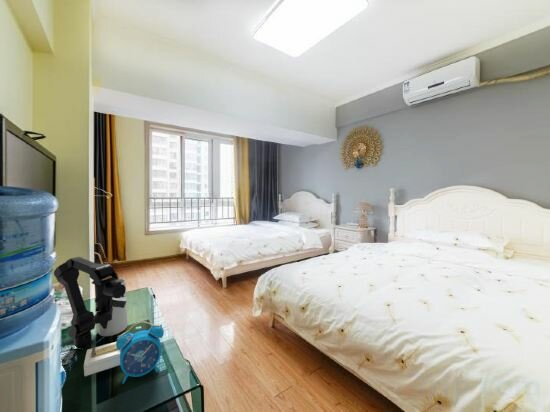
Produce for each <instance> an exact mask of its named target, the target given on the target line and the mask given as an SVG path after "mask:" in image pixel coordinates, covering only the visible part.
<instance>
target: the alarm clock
mask: <svg viewBox="0 0 550 412" xmlns="http://www.w3.org/2000/svg"><path fill="white" fill-rule="evenodd" d="M138 324H148V325H150V326H151V327H150V328H149V329H148V330H140V331H136V332H135V333H131V332H129V331H131V329H133V328H134V327H135V326H136V325H138ZM164 333H165V332H164V328H163V325H162V324H153V323H150V322H148V321H146V320H145V321H139V322H136V323H134V324H133V325H132V326H131V327H130V328H129V329H128V330H127V331H125V332H123V333H122V334H120V335H117V339H116V341H115V342H116V347H117V349H118V350H121V351H120V365H119V366H120V368H121V371H122V372H123V373H124V374H125V377H124V379H123V380H122V381H121V383H122V384H124V385H125V382H126V381H127V379H128V377H131V378H132V377H134V378H136V377H137V378H138V377H142V376H144V375H147V374H148V373H150V372H151V371H152V370H155V371H157V372H160V371H161V370H160V369H159V368H158V366H157V364H158V363H159V361H160V358H161V356H162V345H161V340H160V339H163V337H164Z"/></svg>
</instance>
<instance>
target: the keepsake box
mask: <svg viewBox="0 0 550 412" xmlns="http://www.w3.org/2000/svg"><path fill="white" fill-rule="evenodd" d="M116 342H117V341H115V342H111V343H107V344H106V343H105V344H103V345H100V346H96V347H93V348H89V349H86V353H85V358H84V363H83V374H84V377H88V376H90V375H93V374H97V373H99V372H102V371H105V370H109V369H112V368H115V367H118V366H120V351H121V350H118V349H116V350H113V351H109V352H106V353H103V354H100V355H97V356H96V350H98V349H101V348H104V347H107V346H110V345H114V344H116Z"/></svg>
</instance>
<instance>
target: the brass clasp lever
mask: <svg viewBox="0 0 550 412" xmlns="http://www.w3.org/2000/svg"><path fill="white" fill-rule="evenodd" d="M116 349H117V347H116V344H114V345H110V346H107V347H104V348H101V349H98V350H96V356H97V355H100V354H103V353H106V352H109V351H113V350H116Z"/></svg>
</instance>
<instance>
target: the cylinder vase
mask: <svg viewBox="0 0 550 412" xmlns="http://www.w3.org/2000/svg"><path fill="white" fill-rule="evenodd" d="M115 281H121V284H123V285H124V286H125V287H126V288H127V284H126V279H124V278H119V279H118V280H115ZM124 297H126V298H127V290H126V291H125V294H124ZM127 302H128V301H126V304H125V307H124V308H121V307H113V311H112V312H113V313H112V320H110V321H108V324H107V328H106V329H103V327H102V326H101V325H100V323H98V324H97V327H98V329H97V330H98V335H100V336H101V337H112V336H114V335H117V334H118V335H119V334H120V333H121V332H123V331H125V330H126V329H127V327H128V309H127V308H128V307H127V305H128V304H127Z"/></svg>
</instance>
